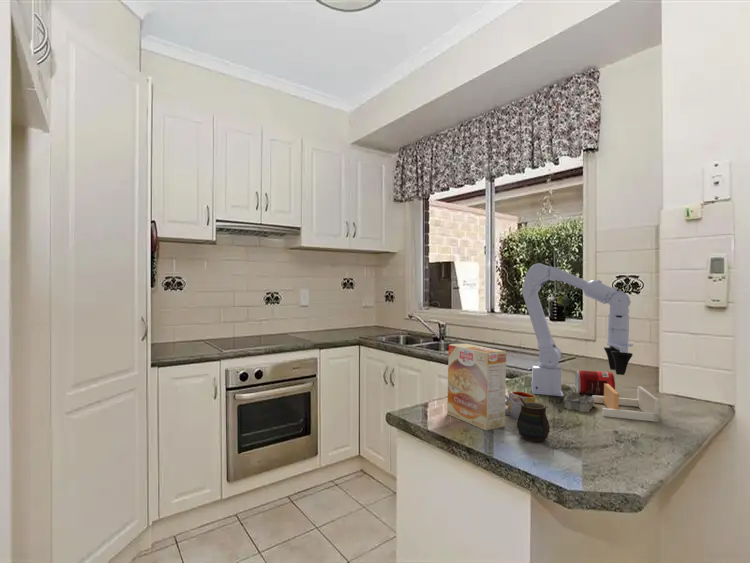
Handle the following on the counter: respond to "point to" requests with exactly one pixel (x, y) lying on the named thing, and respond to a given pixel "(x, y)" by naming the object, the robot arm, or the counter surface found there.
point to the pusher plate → (611, 397)
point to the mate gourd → (533, 422)
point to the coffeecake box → (477, 385)
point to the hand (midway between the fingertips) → (617, 372)
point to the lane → (643, 401)
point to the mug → (517, 402)
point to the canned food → (593, 381)
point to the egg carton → (578, 402)
